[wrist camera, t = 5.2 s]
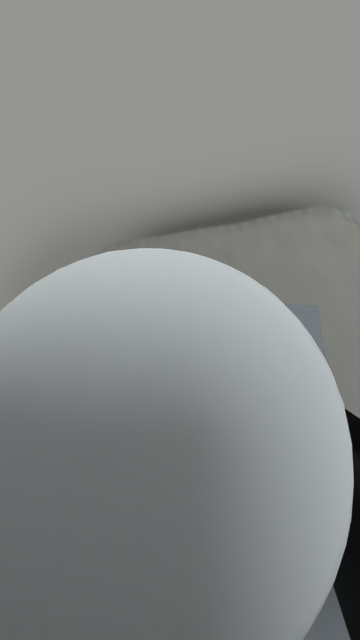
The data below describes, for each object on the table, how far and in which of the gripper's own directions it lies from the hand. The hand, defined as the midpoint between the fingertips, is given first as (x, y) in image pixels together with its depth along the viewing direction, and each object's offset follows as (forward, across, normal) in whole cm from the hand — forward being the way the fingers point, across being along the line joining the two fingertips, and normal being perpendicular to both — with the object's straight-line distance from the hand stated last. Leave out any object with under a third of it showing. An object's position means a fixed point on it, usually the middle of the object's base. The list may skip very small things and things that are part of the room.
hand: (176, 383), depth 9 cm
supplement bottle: (+4, 0, +6) cm, 7 cm away
